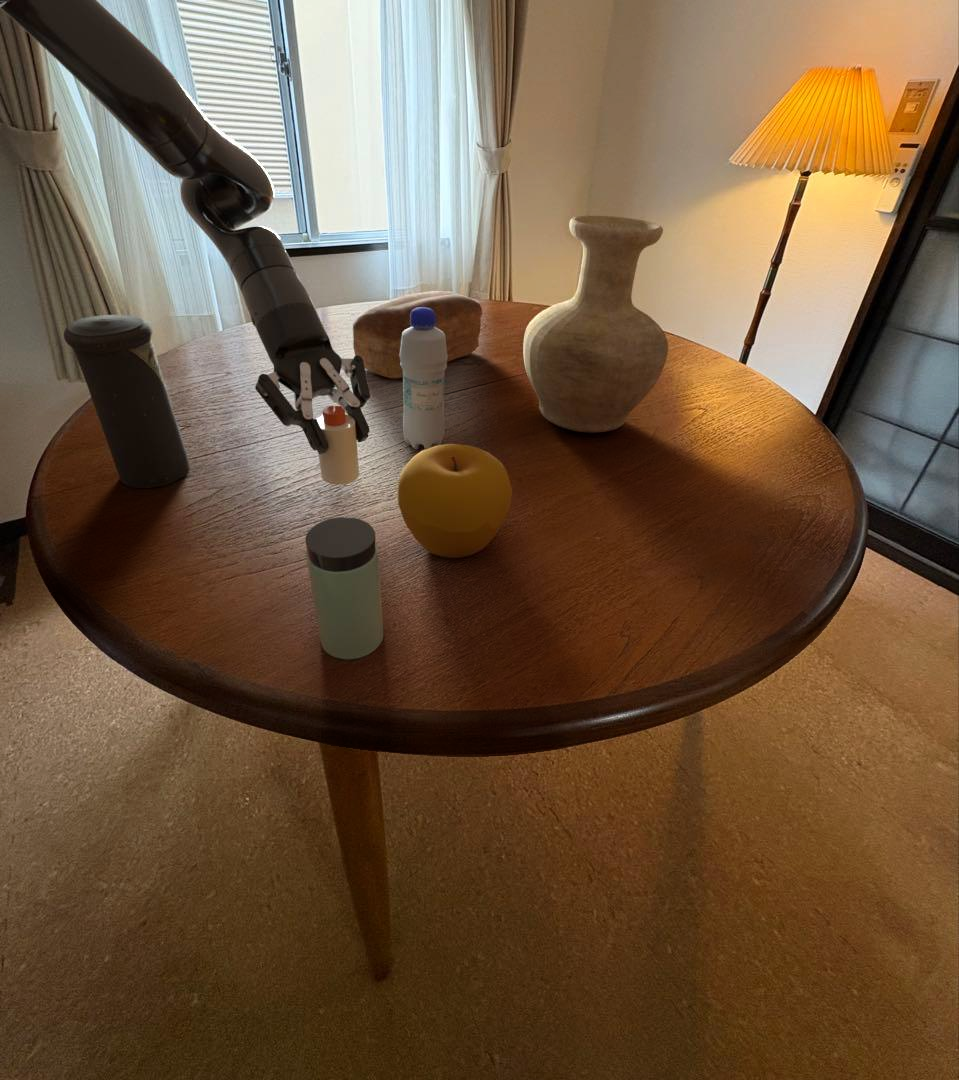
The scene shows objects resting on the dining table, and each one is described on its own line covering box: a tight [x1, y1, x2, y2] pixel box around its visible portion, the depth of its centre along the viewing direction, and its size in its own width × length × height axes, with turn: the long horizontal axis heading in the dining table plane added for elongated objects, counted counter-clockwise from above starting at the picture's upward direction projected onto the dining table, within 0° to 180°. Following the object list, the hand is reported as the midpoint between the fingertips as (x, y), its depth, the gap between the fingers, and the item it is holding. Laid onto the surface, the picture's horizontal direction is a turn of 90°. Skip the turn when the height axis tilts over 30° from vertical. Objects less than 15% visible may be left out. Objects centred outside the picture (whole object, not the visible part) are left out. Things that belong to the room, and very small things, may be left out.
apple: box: [396, 443, 513, 559], centre depth 64 cm, size 13×13×11 cm
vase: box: [522, 215, 669, 434], centre depth 87 cm, size 22×22×30 cm
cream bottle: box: [316, 405, 360, 486], centre depth 70 cm, size 5×5×9 cm
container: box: [63, 314, 191, 489], centre depth 69 cm, size 9×9×20 cm
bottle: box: [400, 307, 448, 450], centre depth 80 cm, size 7×7×20 cm
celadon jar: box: [304, 516, 385, 660], centre depth 50 cm, size 6×6×12 cm
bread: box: [352, 290, 483, 379], centre depth 112 cm, size 14×28×12 cm, turn 141°
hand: (344, 444), depth 68 cm, fingers closed on cream bottle, 4 cm apart
